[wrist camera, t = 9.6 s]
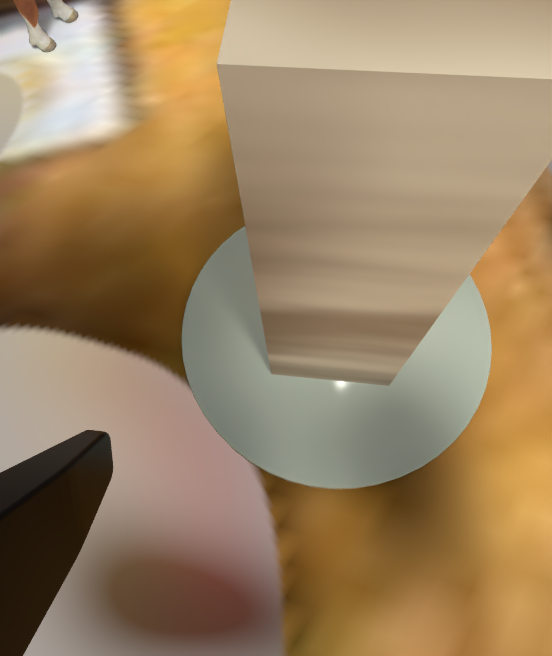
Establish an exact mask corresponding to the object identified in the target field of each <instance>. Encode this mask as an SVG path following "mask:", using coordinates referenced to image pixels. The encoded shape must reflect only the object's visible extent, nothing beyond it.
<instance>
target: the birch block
mask: <svg viewBox="0 0 552 656" xmlns="http://www.w3.org/2000/svg"><path fill="white" fill-rule="evenodd" d="M217 68H218V74H219V80H220V85H221V91H222V97H223V102H224V108H225V114H226V120H227V125H228V131H229V137H230V142H231V148H232V154H233V159H234V165H235V171H236V176H237V182H238V188H239V193H240V199H241V205H242V210H243V216H244V222H245V227H246V233H247V239H248V245H249V250H250V256H251V262H252V267H253V273H254V279H255V284H256V290H257V296H258V301H259V307H260V313H261V318H262V324H263V330H264V335H265V341H266V347H267V353H268V358H269V364H270V370H271V374H274V375H284V376H294V377H304V378H314V379H324V380H335V381H345V382H355V383H365V384H375V385H385V386H389V385H390V384H391V382H392V381H393V380H394V378H395V377H396V375H397V374H398V373H399V371H400V370H401V368H402V367H403V366H404V364H405V363H406V362H407V360H408V359H409V357H410V356H411V355H412V353H413V352H414V350H415V349H416V348H417V346H418V345H419V343H420V342H421V341H422V339H423V338H424V337H425V335H426V334H427V332H428V331H429V330H430V328H431V327H432V325H433V324H434V323H435V321H436V320H437V318H438V317H439V316H440V314H441V313H442V312H443V310H444V309H445V307H446V306H447V305H448V303H449V302H450V300H451V299H452V298H453V296H454V295H455V293H456V292H457V291H458V289H459V288H460V286H461V285H462V284H463V282H464V281H465V280H466V278H467V277H468V275H469V274H470V273H471V271H472V270H473V268H474V267H475V266H476V264H477V263H478V261H479V260H480V259H481V257H482V256H483V255H484V253H485V252H486V250H487V249H488V248H489V246H490V245H491V243H492V242H493V241H494V239H495V238H496V236H497V235H498V234H499V232H500V231H501V229H502V228H503V227H504V225H505V224H506V223H507V221H508V220H509V218H510V217H511V216H512V214H513V213H514V211H515V210H516V209H517V207H518V206H519V204H520V203H521V202H522V200H523V199H524V198H525V196H526V195H527V193H528V192H529V191H530V189H531V188H532V186H533V185H534V184H535V182H536V181H537V179H538V178H539V177H540V175H541V174H542V173H543V171H544V170H545V168H546V167H547V166H548V164H549V163H550V161H551V160H552V0H231V3H230V7H229V12H228V16H227V21H226V25H225V29H224V34H223V38H222V43H221V47H220V52H219V56H218V61H217Z"/></svg>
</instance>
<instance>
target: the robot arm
mask: <svg viewBox="0 0 552 656" xmlns="http://www.w3.org/2000/svg"><path fill="white" fill-rule="evenodd" d="M112 473H113V460H112V450H111V441H110V437H109V434H108V433H106V432H102V431H94V430H86V431H84V432H82V433H80V434H78V435H76V436H74V437H72V438H70V439H68V440H66V441H64V442H61V443H59V444H58V445H56V446H53V447H52V448H49V449H47V450H45V451H43V452H41V453H39V454H37V455H35V456H33V457H31V458H30V459H27V460H25V461H23V462H21V463H19V464H17V465H15V466H13V467H11V468H9V469H7V470H5V471H3V472H1V473H0V656H23V654H24V653H25V651H26V649H27V647H28V645H29V644H30V642H31V640H32V638H33V636H34V635H35V633H36V631H37V629H38V627H39V625H40V624H41V622H42V620H43V618H44V616H45V615H46V612H47V611H48V609H49V607H50V606H51V604H52V602H53V600H54V598H55V596H56V595H57V593H58V591H59V589H60V587H61V586H62V584H63V582H64V580H65V578H66V576H67V575H68V573H69V571H70V569H71V567H72V566H73V564H74V562H75V560H76V558H77V556H78V554H79V552H80V550H81V548H82V546H83V544H84V541H85V539H86V537H87V534H88V532H89V530H90V527H91V525H92V523H93V520H94V518H95V515H96V513H97V511H98V508H99V506H100V504H101V501H102V499H103V497H104V494H105V492H106V490H107V487H108V485H109V482H110V480H111V477H112Z"/></svg>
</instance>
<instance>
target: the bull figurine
mask: <svg viewBox="0 0 552 656" xmlns="http://www.w3.org/2000/svg"><path fill="white" fill-rule="evenodd" d="M13 2H14V3H15V5H16V7H17V9H18V11H19V13H20V14H21V15H22V17H23V18H24V19H25V21H26V24H27V27H28V32H29V42H30V44H31V45H32V46H35V45H37V46H38V47H39V48H40V49H41V50H42V51H44V52H48V51H51V50H53V49H54V48H55V47H56V43H55V41H54V40H53V39H51V38H50V37H49V35H48V34H46V33H45V32H44V31H43V30H42V29H41V27H40V26H39V24H38V17H39V11H38V7H37V5H36V2H35V0H13ZM47 2H48V3H49V5H50V7H51V11H52V14H53V16H54V17H55V18H57V17H60V18H61V19H62V20H63V21H64V22H72V21H74V20H75V19H76V18H77V17H78V13H77V11H76V10H75V9H73V8H71V7H69V6H68V5H66V4H65V3H64V2H63V1H62V0H47Z"/></svg>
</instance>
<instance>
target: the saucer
mask: <svg viewBox="0 0 552 656" xmlns="http://www.w3.org/2000/svg"><path fill="white" fill-rule="evenodd" d="M182 352H183V361H184V366H185V370H186V375H187V379H188V382H189V384H190V387H191V390H192V392H193V395H194V397H195V399H196V401H197V403H198V405H199V406H200V408H201V410H202V412H203V414H204V415H205V416H206V418H207V419H208V421H209V422H210V423H211V425H212V426H213V427H214V429H215V430H216V432H218V434H219V435H220V436H221V437H222V438H223V439H224V440H225V441H226V442H227V443H228V444H229V445H230V446H231V447H232V448H233V449H234V450H235V451H236V452H238V453H239V454H240V455H241V456H243V457H244V458H245V459H247V460H248V461H249V462H250V463H252V464H253V465H255V466H257V467H259V468H260V469H262V470H264V471H266V472H267V473H269V474H271V475H274V476H276V477H279V478H281V479H283V480H286V481H288V482H292V483H296V484H299V485H303V486H307V487H312V488H321V489H330V490H341V489H357V488H363V487H370V486H375V485H378V484H381V483H384V482H388V481H391V480H394V479H397V478H400V477H402V476H404V475H406V474H408V473H410V472H412V471H415V470H417V469H419V468H421V467H422V466H424V465H425V464H427V463H428V462H430V461H431V460H433V459H434V458H436V457H437V456H439V455H440V454H441V453H442V452H443V451H444V450H445V449H446V448H448V447H449V446H450V445H451V444H452V443H453V442H454V441H455V440H456V439H457V438H458V436H459V435H460V434H461V433H462V431H463V430H464V429H465V428H466V426H467V425H468V424H469V422H470V420H471V419H472V417H473V415H474V413H475V412H476V410H477V408H478V406H479V404H480V401H481V399H482V396H483V394H484V391H485V389H486V385H487V380H488V376H489V372H490V364H491V352H492V347H491V331H490V326H489V321H488V317H487V312H486V309H485V306H484V303H483V301H482V298H481V295H480V293H479V291H478V289H477V287H476V285H475V283H474V281H473V279H472V277H471V276H470V274H469V275H468V277H467V278H466V280H465V281H464V282H463V284H462V285H461V286H460V288H459V289H458V291H457V292H456V293H455V295H454V296H453V298H452V299H451V300H450V302H449V303H448V305H447V306H446V307H445V309H444V310H443V312H442V313H441V314H440V316H439V317H438V318H437V320H436V321H435V323H434V324H433V325H432V327H431V328H430V330H429V331H428V332H427V334H426V335H425V337H424V338H423V339H422V341H421V342H420V343H419V345H418V346H417V348H416V349H415V350H414V352H413V353H412V355H411V356H410V357H409V359H408V360H407V362H406V363H405V364H404V366H403V367H402V368H401V370H400V371H399V373H398V374H397V375H396V377H395V378H394V380H393V381H392V382H391V384H390V385H389V386H385V385H375V384H365V383H355V382H345V381H335V380H324V379H314V378H304V377H294V376H284V375H274V374H271V370H270V364H269V358H268V353H267V347H266V341H265V335H264V330H263V324H262V318H261V313H260V307H259V301H258V296H257V290H256V284H255V279H254V273H253V267H252V262H251V256H250V250H249V245H248V239H247V233H246V227H245V226H244V227H242V228H241V229H239V230H238V231H237V232H235V233H234V234H233V235H232V236H230V237H229V238H228V239H227V240H226V241H225V242H224V243H223V244H221V246H220V247H219V248H218V249H217V250H216V251H215V252H214V253H213V255H212V256H211V257H210V258H209V260H208V261H207V263H206V264H205V266H204V267H203V268H202V270H201V271H200V273H199V275H198V277H197V279H196V281H195V283H194V285H193V287H192V290H191V293H190V295H189V298H188V301H187V304H186V309H185V314H184V319H183V326H182Z"/></svg>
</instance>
